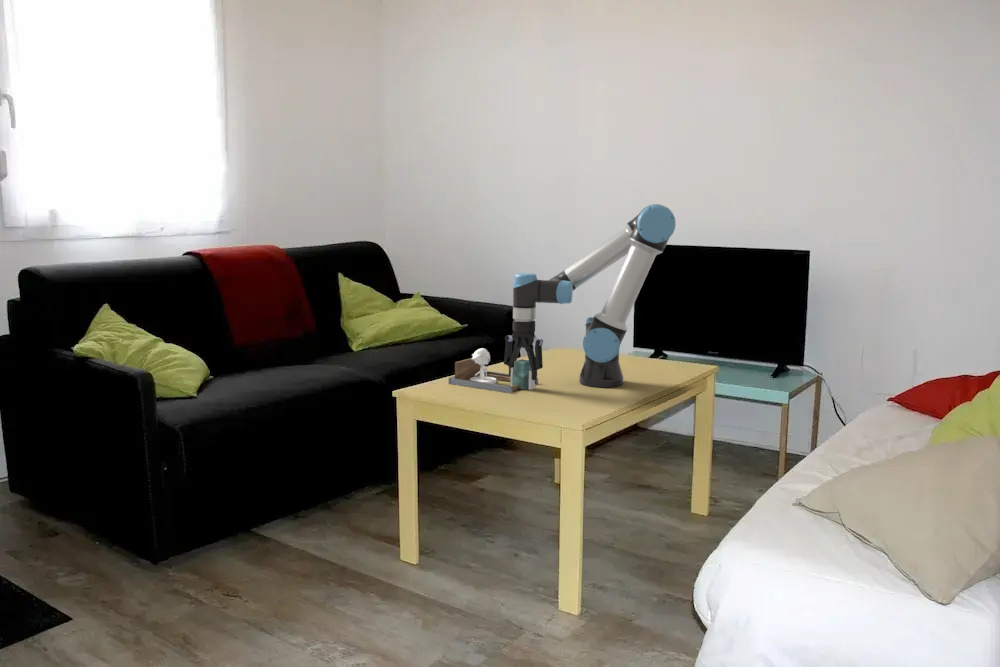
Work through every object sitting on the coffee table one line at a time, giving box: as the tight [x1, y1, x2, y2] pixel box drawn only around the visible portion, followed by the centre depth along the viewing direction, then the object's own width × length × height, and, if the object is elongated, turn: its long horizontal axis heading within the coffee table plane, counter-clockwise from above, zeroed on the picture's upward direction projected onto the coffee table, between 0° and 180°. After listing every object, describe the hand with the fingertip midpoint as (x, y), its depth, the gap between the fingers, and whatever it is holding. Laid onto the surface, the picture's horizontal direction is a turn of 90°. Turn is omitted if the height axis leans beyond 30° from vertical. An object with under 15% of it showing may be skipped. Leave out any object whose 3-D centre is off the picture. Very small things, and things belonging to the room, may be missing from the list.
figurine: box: [469, 347, 497, 384], centre depth 299 cm, size 9×9×12 cm
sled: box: [454, 357, 531, 392], centre depth 296 cm, size 25×14×9 cm, turn 57°
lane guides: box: [448, 370, 539, 394], centre depth 297 cm, size 25×17×2 cm
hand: (522, 387), depth 291 cm, fingers open, 6 cm apart
